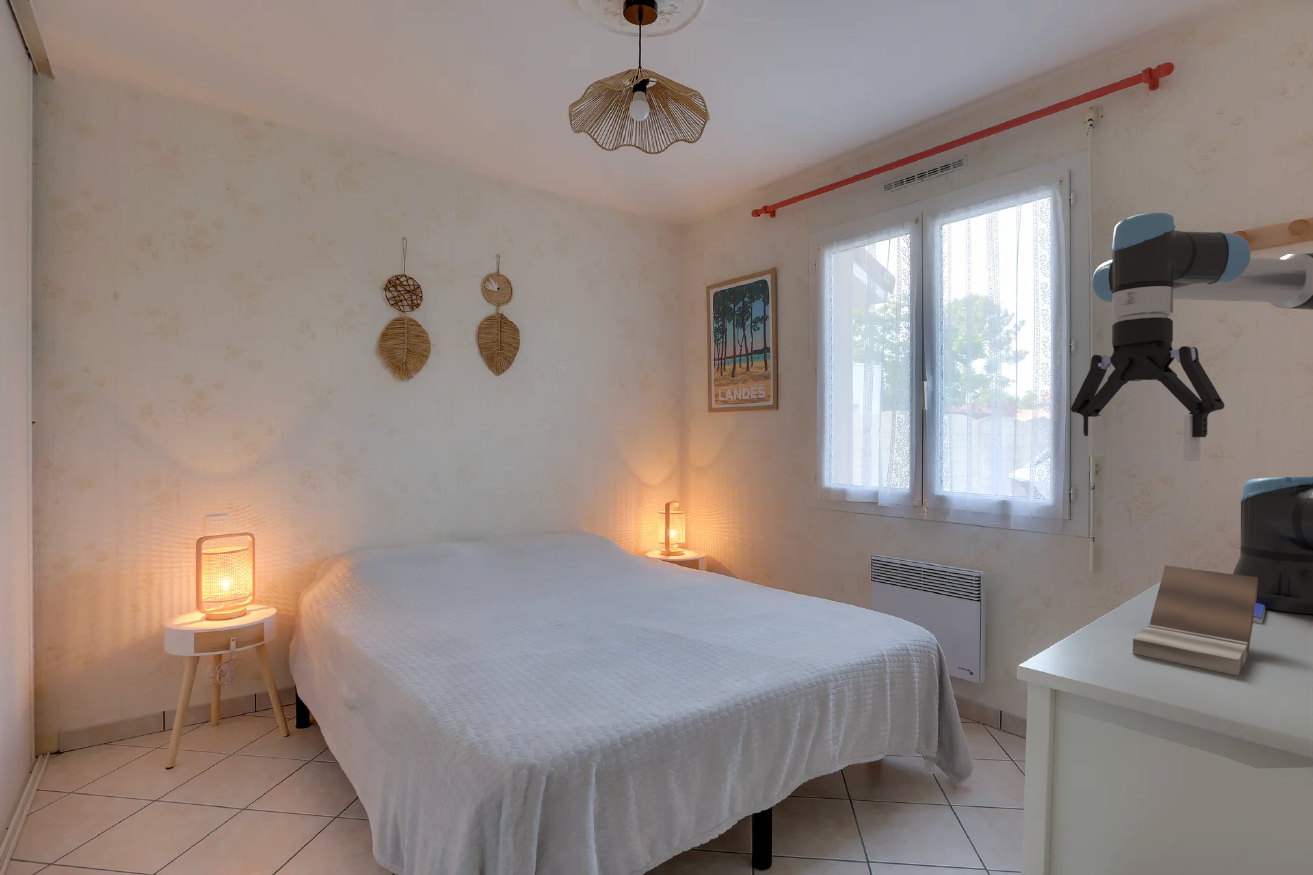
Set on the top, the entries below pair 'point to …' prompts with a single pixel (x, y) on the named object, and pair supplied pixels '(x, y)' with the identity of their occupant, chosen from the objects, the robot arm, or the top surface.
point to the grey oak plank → (1191, 649)
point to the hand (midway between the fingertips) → (1140, 458)
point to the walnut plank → (1206, 603)
